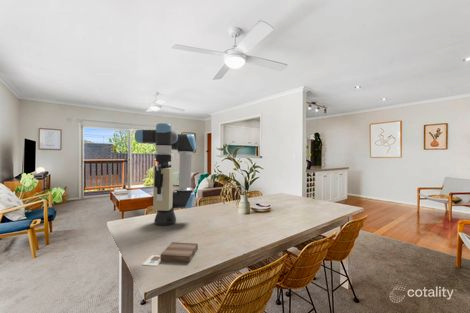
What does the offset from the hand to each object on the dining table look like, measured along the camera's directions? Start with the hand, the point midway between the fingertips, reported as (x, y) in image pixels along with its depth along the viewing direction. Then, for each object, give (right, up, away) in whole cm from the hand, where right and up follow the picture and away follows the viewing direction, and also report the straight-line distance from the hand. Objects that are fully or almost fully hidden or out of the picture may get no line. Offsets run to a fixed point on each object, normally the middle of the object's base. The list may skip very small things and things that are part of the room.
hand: (163, 198), depth 109 cm
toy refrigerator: (0, -5, 0) cm, 5 cm away
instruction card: (-1, -27, -8) cm, 29 cm away
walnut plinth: (+9, -27, -3) cm, 29 cm away
